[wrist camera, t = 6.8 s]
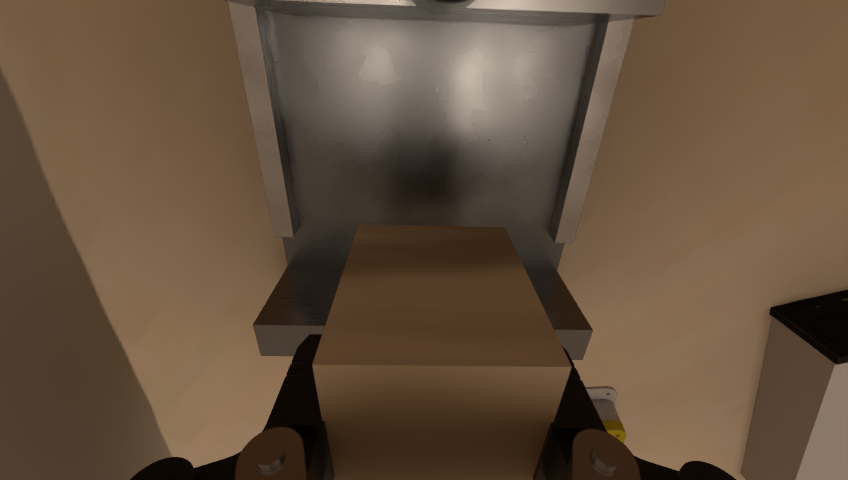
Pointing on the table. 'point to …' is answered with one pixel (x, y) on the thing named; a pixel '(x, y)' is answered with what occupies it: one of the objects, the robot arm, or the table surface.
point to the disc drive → (802, 394)
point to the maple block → (437, 358)
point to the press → (422, 143)
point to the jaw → (471, 10)
